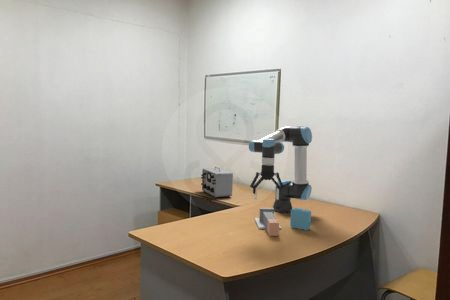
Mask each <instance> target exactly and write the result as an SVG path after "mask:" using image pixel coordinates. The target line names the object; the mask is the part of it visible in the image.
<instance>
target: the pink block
mask: <svg viewBox="0 0 450 300" xmlns="http://www.w3.org/2000/svg"><path fill="white" fill-rule="evenodd" d="M279 225H280V222H279V220H278V219H277V218H276V219H267V231H266V233H267V235H268V236H269V237H279V236H280V235H279V234H280V232H279V231H280V229H279Z"/></svg>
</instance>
